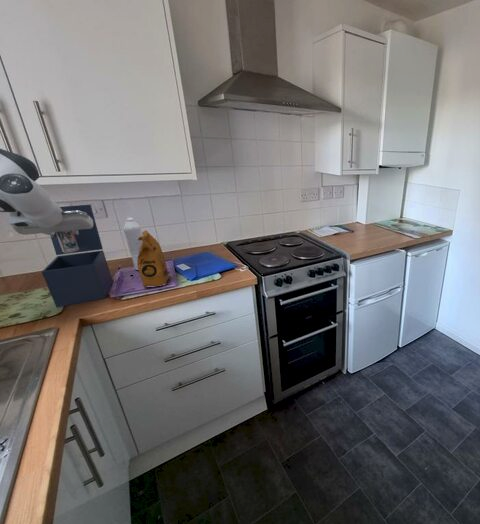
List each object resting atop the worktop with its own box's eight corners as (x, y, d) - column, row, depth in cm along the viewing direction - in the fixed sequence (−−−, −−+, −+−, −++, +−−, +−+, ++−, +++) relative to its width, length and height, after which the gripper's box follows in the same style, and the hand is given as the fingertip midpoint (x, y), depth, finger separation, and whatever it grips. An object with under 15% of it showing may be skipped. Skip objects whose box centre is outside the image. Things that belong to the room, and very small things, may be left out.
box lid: (90, 204, 120) (93, 204, 124) (41, 208, 113) (46, 207, 117) (102, 249, 124) (104, 248, 128) (56, 255, 118) (60, 253, 121)
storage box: (105, 298, 116) (94, 264, 111) (56, 307, 109) (41, 271, 104) (113, 281, 130) (103, 250, 125) (69, 288, 124) (57, 256, 118)
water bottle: (134, 268, 143) (119, 217, 134) (149, 264, 147) (136, 214, 138) (137, 273, 137) (121, 220, 128) (153, 270, 141) (139, 218, 132)
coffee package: (139, 290, 122) (124, 239, 114) (146, 278, 133) (133, 230, 124) (167, 287, 125) (154, 236, 117) (172, 275, 136) (160, 228, 128)
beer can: (66, 254, 110) (54, 222, 105) (60, 252, 112) (48, 221, 107) (82, 250, 114) (71, 219, 109) (75, 248, 116) (64, 218, 111)
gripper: (84, 203, 104) (100, 223, 116) (3, 208, 96) (29, 230, 108) (84, 218, 102) (100, 238, 114) (2, 225, 94) (29, 245, 106)
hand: (65, 234), depth 111 cm, fingers closed on beer can, 5 cm apart
